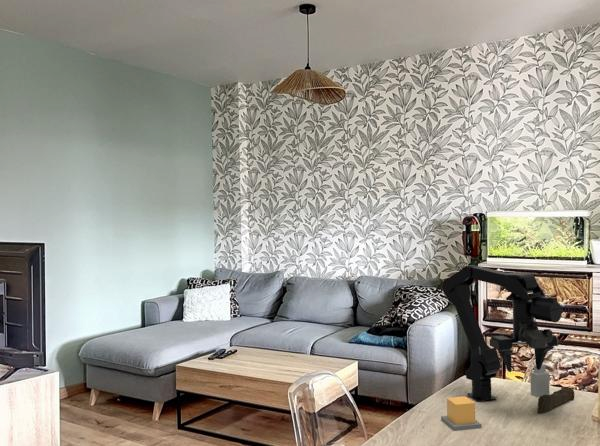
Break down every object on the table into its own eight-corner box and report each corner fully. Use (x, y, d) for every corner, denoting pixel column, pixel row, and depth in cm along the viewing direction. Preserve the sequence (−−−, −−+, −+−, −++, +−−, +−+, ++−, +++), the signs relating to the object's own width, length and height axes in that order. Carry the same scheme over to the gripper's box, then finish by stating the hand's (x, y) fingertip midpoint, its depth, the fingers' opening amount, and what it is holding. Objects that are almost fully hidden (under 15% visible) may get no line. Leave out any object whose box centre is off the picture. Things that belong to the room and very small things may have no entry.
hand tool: (562, 397, 174) (562, 383, 174) (575, 401, 171) (574, 385, 171) (529, 412, 163) (528, 396, 163) (542, 416, 159) (542, 400, 159)
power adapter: (529, 394, 177) (529, 356, 177) (543, 392, 179) (542, 354, 179) (537, 397, 174) (536, 359, 174) (550, 395, 176) (550, 357, 176)
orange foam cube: (447, 417, 157) (446, 397, 156) (465, 415, 158) (465, 396, 157) (456, 424, 151) (455, 404, 151) (475, 423, 152) (475, 402, 152)
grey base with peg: (441, 419, 158) (440, 402, 157) (467, 417, 159) (467, 399, 159) (453, 430, 150) (453, 412, 150) (481, 427, 151) (481, 409, 151)
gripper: (509, 324, 152) (510, 381, 152) (570, 320, 156) (571, 376, 156) (488, 317, 163) (489, 370, 163) (545, 313, 166) (546, 365, 167)
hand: (524, 370), depth 162 cm, fingers open, 9 cm apart
